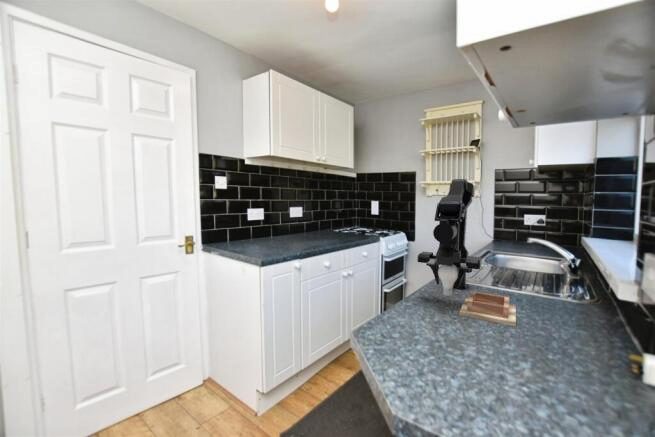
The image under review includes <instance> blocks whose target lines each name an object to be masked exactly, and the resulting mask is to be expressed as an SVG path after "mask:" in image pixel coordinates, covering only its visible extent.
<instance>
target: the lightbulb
mask: <svg viewBox="0 0 655 437" xmlns="http://www.w3.org/2000/svg"><path fill="white" fill-rule="evenodd" d="M458 274H459V271H458V269H457V267H456V266H455V265H452V266H447V265H439V269H438V276H439V280H440V281H441V285H442V289H443V290H442V294H443V295H444V296H445V297H446V298H447V297H451V296H452V295H453V288H454V287H453V285H454V282H455V281H456V280H457V279H458Z"/></svg>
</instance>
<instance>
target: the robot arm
mask: <svg viewBox="0 0 655 437" xmlns="http://www.w3.org/2000/svg"><path fill="white" fill-rule="evenodd" d="M475 192H476V190H475V185H474V183H471V182H469V181H468V179H465V178H455V179H452V180H451V183H450V184H449V189H448V193H447V195H445V196H443V197H441V199H440V200H439V202H438V203H437V205H436V210H435V215H434V218H433V219H434V222H439V224H437V225H435V227H434V229H433V230H432V231H433V232H432V234H433V238H434V239H435V241H437V242H439V247H438V249H437V251H436V253H435V254H434V252H431V251H421V252H419V254H417V258H416V259H417V260H416V261H417V263H421V264H426V266H427V267H429V268H430V269H431V271H432V274H433V276H434V279H435V283H436V285H439V284H440V278H439V276H438V269H439V267H440V266H441V265H447V266H452V265H455V266H456V267H457V269H458V271H459V274H458V279H457V280H456V281H455V282H454V285H453V287H452V288H454V289H455V288H456V289H462V290H466V289H467V287H468V283H466V282H467V274H470V273H473V270H481V267H482V263H483V262H482V258H481V257H480V256H471V255H470V253H469V251H468V249H467V247H466V233H467V232H466V231H467V218H468V217H467V216H468V208H469V207H470V205H471V204H472V202H473V198H474V197H475ZM469 255H470V256H469Z"/></svg>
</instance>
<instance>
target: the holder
mask: <svg viewBox="0 0 655 437" xmlns="http://www.w3.org/2000/svg"><path fill="white" fill-rule="evenodd" d="M516 307H517V306H516V305H511V304H510V296H504V295H499V294H498V295H497V294H493V293H492V294H491V293H485V292H481V291H480V292H479V291H472V290H471V292H470V294H469V296H468V297H465V299H464V301H463V303H462V306H461V308H460V310H459V316H460V317H465V318H470V319H476V320H480V321H484V322H489V323H494V324H499V325H505V326H510V327H515V328H516V327H517V308H516Z"/></svg>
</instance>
